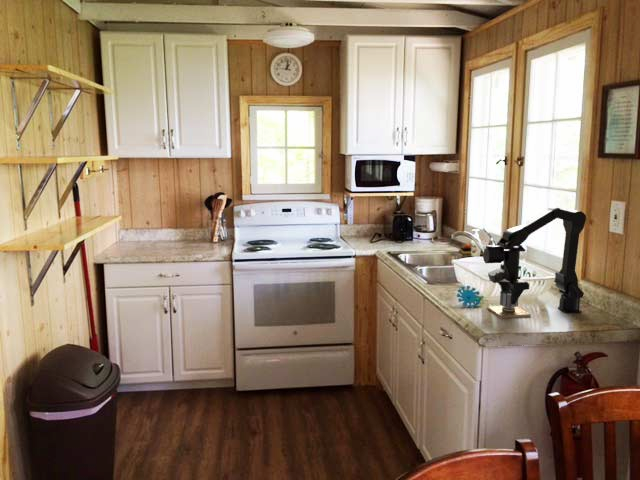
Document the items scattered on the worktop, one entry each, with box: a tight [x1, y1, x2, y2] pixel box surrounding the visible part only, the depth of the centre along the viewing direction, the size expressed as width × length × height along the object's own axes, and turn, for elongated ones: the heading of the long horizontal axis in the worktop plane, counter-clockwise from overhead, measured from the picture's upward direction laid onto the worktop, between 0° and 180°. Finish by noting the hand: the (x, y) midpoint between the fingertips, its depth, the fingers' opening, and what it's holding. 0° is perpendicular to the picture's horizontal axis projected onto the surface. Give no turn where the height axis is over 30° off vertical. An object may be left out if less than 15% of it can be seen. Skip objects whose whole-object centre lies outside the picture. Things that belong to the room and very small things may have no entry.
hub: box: [499, 290, 519, 307], centre depth 214 cm, size 7×7×5 cm
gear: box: [456, 285, 485, 309], centre depth 226 cm, size 11×6×10 cm
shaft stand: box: [486, 305, 532, 319], centre depth 214 cm, size 12×12×6 cm
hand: (509, 301), depth 214 cm, fingers closed on hub, 7 cm apart
